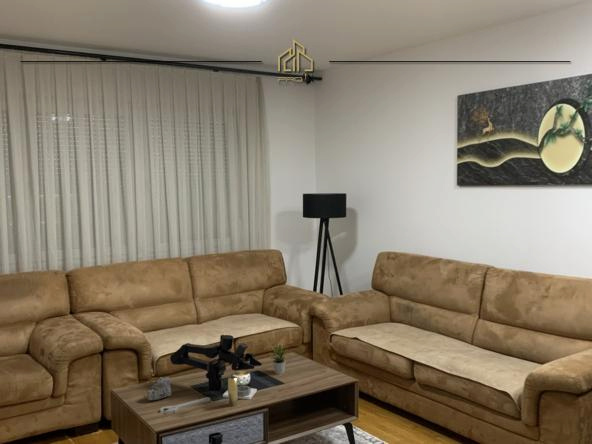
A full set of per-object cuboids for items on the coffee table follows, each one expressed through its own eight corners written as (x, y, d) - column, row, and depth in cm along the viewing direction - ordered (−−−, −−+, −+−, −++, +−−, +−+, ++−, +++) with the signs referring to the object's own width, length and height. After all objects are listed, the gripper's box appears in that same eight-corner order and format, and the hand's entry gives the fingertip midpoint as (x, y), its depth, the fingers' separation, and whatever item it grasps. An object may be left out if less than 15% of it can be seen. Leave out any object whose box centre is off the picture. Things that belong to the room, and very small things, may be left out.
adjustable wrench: (208, 399, 281) (208, 396, 280) (214, 404, 275) (214, 400, 275) (159, 411, 267) (159, 407, 267) (163, 415, 262) (163, 412, 262)
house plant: (264, 368, 324) (263, 340, 323) (288, 366, 326) (287, 338, 325) (267, 376, 310) (266, 347, 309) (292, 374, 312) (292, 345, 311)
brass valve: (227, 405, 271) (226, 376, 270) (230, 402, 275) (229, 373, 274) (236, 406, 270) (235, 377, 269) (239, 403, 274) (238, 373, 273)
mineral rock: (147, 403, 275) (146, 383, 275) (144, 395, 285) (143, 376, 284) (174, 399, 280) (173, 379, 280) (170, 391, 290) (169, 372, 289)
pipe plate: (222, 397, 282) (222, 390, 281) (230, 389, 293) (230, 382, 292) (249, 399, 278) (249, 392, 278) (256, 391, 289) (256, 384, 289)
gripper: (225, 344, 280) (253, 352, 274) (241, 339, 297) (268, 347, 292) (220, 366, 280) (248, 375, 274) (237, 360, 297) (264, 368, 292)
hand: (257, 366), depth 283 cm, fingers open, 9 cm apart
